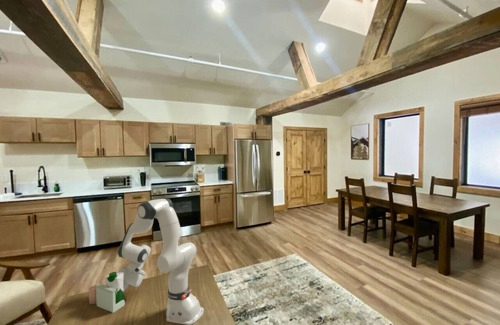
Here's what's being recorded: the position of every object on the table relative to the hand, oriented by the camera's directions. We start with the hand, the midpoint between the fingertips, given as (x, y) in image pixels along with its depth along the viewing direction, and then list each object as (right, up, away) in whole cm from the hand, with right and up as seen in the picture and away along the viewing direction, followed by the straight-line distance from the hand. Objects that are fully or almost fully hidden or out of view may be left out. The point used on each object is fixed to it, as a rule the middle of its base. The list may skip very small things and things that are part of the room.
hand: (121, 290), depth 147 cm
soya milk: (-1, -5, -4) cm, 7 cm away
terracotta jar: (-15, -5, -3) cm, 16 cm away
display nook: (-3, -5, -7) cm, 9 cm away
